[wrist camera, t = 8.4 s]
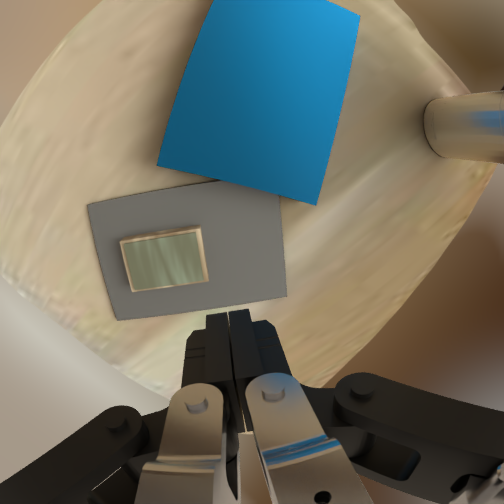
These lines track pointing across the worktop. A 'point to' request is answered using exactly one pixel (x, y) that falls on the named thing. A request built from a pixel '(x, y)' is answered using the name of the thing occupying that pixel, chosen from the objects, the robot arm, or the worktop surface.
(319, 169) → the book
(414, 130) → the worktop surface
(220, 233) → the mat
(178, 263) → the tile
